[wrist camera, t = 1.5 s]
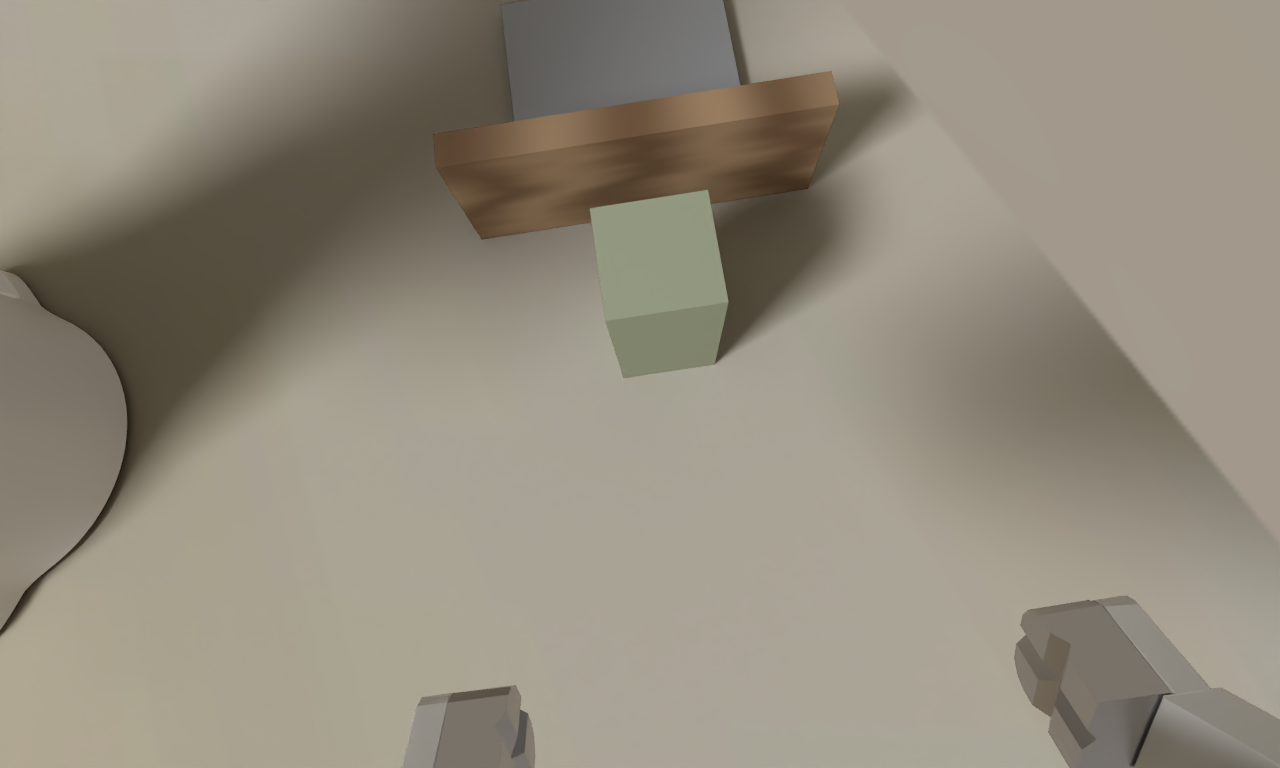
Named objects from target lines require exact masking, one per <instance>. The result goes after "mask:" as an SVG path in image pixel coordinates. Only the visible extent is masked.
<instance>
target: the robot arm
mask: <svg viewBox="0 0 1280 768" xmlns="http://www.w3.org/2000/svg"><path fill="white" fill-rule="evenodd" d="M126 437H127V411H126V402H125V396H124V392H123V388H122V385H121V382H120V379H119V377H118V374H117V372H116V370H115V368H114V366H113V364H112V362H111V360H110V359H109V357H108V356H107V354H106V353H105V352H104V350H103V349H102V348H101V347H100V345H99V344H98V343H97V342H96V341H95V340H94V339H93V338H92V337H90V336H89V335H88V334H87V333H86V332H84V331H83V330H81V329H80V328H78V327H77V326H75V325H73V324H72V323H70V322H68V321H66V320H64V319H62V318H60V317H58V316H56V315H54V314H52V313H50V312H48V311H47V310H46V309H44V308H43V307H42V306H41V305H40V304H39V302H38V301H37V299H36V298H35V296H34V295H33V293H32V292H31V290H30V289H29V288H28V286H27V285H26V284H25V283H24V282H23V281H22V280H21V279H20V278H19V277H18V276H16V275H15V274H12V273H9V272H5V271H2V270H0V630H1V628H2V627H3V625H4V624H5V622H6V621H7V619H8V618H9V616H10V615H11V613H12V611H13V610H14V608H15V607H16V605H17V603H18V602H19V600H20V598H21V597H22V595H23V593H24V592H25V590H26V589H27V588H28V587H29V586H30V585H31V584H32V583H33V582H34V581H35V580H36V579H37V578H39V577H40V576H41V575H42V574H43V573H45V572H46V571H47V570H48V569H49V568H51V567H52V566H53V565H54V564H56V563H57V562H58V561H59V560H60V559H62V558H63V557H64V556H65V555H66V554H67V553H68V552H69V551H70V550H71V549H72V548H73V547H74V546H75V545H76V544H77V543H78V542H79V541H80V539H81V538H82V537H83V536H84V535H85V534H86V532H87V531H88V530H89V528H90V527H91V526H92V524H93V523H94V522H95V520H96V519H97V517H98V516H99V514H100V512H101V511H102V509H103V507H104V506H105V504H106V502H107V500H108V498H109V496H110V494H111V492H112V490H113V487H114V485H115V482H116V480H117V477H118V474H119V471H120V468H121V464H122V460H123V456H124V451H125V445H126ZM1020 626H1021V627H1022V629H1023V630H1024V632H1025V634H1026V635H1025V636H1024V637H1023V638H1022V639H1021V640H1020V641H1019V642H1018V643H1017V644H1016V649H1015V656H1014V659H1015V665H1016V670H1017V675H1018V677H1019V680H1020V682H1021V685H1022V687H1023V690H1024V691H1025V693H1026V695H1027V697H1028V698H1029V700H1030V702H1031V704H1032V705H1033V706H1035V707H1036V708H1038V709H1039V710H1041V711H1042V712H1044V713H1045V714H1047V715H1048V716H1050V723H1049V731H1048V733H1049V734H1050V736H1051V738H1052V739H1053V741H1054V743H1055V744H1056V746H1057V748H1058V749H1059V751H1060V753H1061V754H1062V756H1063V758H1064V759H1065V761H1066V763H1067V764H1068V766H1069V768H1280V720H1279V719H1278V718H1276V717H1274V716H1272V715H1270V714H1269V713H1267V712H1265V711H1263V710H1261V709H1260V708H1258V707H1256V706H1254V705H1252V704H1250V703H1249V702H1247V701H1245V700H1243V699H1241V698H1240V697H1238V696H1236V695H1234V694H1232V693H1230V692H1229V691H1227V690H1225V689H1223V688H1212V689H1211V688H1210V687H1209V686H1208V684H1207V683H1206V682H1205V681H1204V680H1203V679H1202V677H1201V676H1200V675H1199V674H1198V673H1197V672H1196V670H1195V669H1194V668H1193V667H1192V666H1191V665H1190V663H1189V662H1188V661H1187V660H1186V659H1185V658H1184V657H1183V655H1182V654H1181V653H1180V652H1179V651H1178V650H1177V648H1176V647H1175V646H1174V645H1173V644H1172V643H1171V641H1170V640H1169V639H1168V638H1167V637H1166V636H1165V634H1164V633H1163V632H1162V631H1161V630H1160V629H1159V627H1158V626H1157V625H1156V624H1155V623H1154V622H1153V620H1152V619H1151V618H1150V617H1149V616H1148V615H1147V613H1146V612H1145V611H1144V610H1143V609H1142V608H1141V606H1140V605H1139V604H1138V603H1137V602H1136V601H1135V600H1133V599H1132V598H1130V597H1128V596H1117V597H1111V598H1105V599H1099V600H1093V601H1090V600H1086V601H1080V602H1073V603H1067V604H1061V605H1055V606H1049V607H1043V608H1036V609H1030V610H1027V611H1026V612H1025V613H1024V614H1023V616H1022V620H1021V624H1020ZM520 706H521V696H520V693H519V691H518V689H517V687H516V685H513V686H505V687H497V688H489V689H482V690H474V691H466V692H458V693H449V694H442V695H435V696H428V697H422V698H421V700H420V702H419V703H418V705H417V707H416V709H415V713H414V717H413V721H412V725H411V729H410V733H409V737H408V741H407V746H406V750H405V754H404V758H403V762H402V766H401V768H534V766H535V744H534V733H533V728H532V723H531V721H530V718H529V715H528V714H527V713H526V712H524V711H522V710H520Z"/></svg>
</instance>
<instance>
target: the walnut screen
mask: <svg viewBox="0 0 1280 768" xmlns="http://www.w3.org/2000/svg"><path fill="white" fill-rule="evenodd" d="M838 107H839V101H838V96H837V92H836V88H835V84H834V80H833V75H832V71H829V72H823V73H816V74H810V75H804V76H797V77H791V78H785V79H779V80H772V81H766V82H760V83H753V84H747V85H741V86H734V87H728V88H722V89H715V90H709V91H703V92H697V93H690V94H684V95H678V96H671V97H665V98H659V99H652V100H646V101H640V102H633V103H627V104H621V105H615V106H608V107H602V108H596V109H589V110H583V111H577V112H570V113H564V114H558V115H551V116H545V117H539V118H533V119H526V120H520V121H514V122H507V123H501V124H495V125H488V126H482V127H476V128H469V129H463V130H457V131H450V132H444V133H438V134H433V137H434V148H435V160H436V168H437V170H438V172H439V173H440V175H441V176H442V178H443V179H444V181H445V183H446V184H447V186H448V187H449V189H450V190H451V192H452V193H453V195H454V197H455V198H456V200H457V201H458V203H459V204H460V206H461V208H462V209H463V211H464V212H465V214H466V215H467V217H468V218H469V220H470V222H471V223H472V225H473V226H474V228H475V229H476V231H477V233H478V234H479V236H480V237H481V239H487V238H493V237H500V236H506V235H512V234H519V233H525V232H532V231H538V230H544V229H551V228H557V227H564V226H570V225H576V224H583V223H589V222H591V214H590V208H595V207H602V206H608V205H614V204H621V203H627V202H633V201H640V200H646V199H653V198H659V197H665V196H672V195H678V194H685V193H691V192H697V191H704V190H708V193H709V198H710V204H711V203H718V202H724V201H730V200H737V199H743V198H750V197H756V196H762V195H769V194H775V193H782V192H788V191H795V190H801V189H807V188H808V186H809V184H810V181H811V178H812V176H813V173H814V170H815V168H816V165H817V162H818V160H819V157H820V154H821V152H822V149H823V146H824V144H825V141H826V138H827V136H828V133H829V131H830V128H831V125H832V123H833V120H834V117H835V115H836V112H837V109H838Z"/></svg>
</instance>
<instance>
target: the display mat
mask: <svg viewBox="0 0 1280 768" xmlns="http://www.w3.org/2000/svg"><path fill="white" fill-rule="evenodd" d="M501 12H502V21H503V29H504V38H505V46H506V55H507V64H508V72H509V81H510V90H511V98H512V107H513V116H514V121H520V120H526V119H533V118H539V117H545V116H551V115H558V114H564V113H570V112H577V111H583V110H589V109H596V108H602V107H608V106H615V105H621V104H627V103H633V102H640V101H646V100H652V99H659V98H665V97H671V96H678V95H684V94H690V93H697V92H703V91H709V90H715V89H722V88H728V87H734V86H740V81H739V76H738V71H737V66H736V61H735V56H734V52H733V47H732V42H731V37H730V32H729V27H728V22H727V17H726V12H725V7H724V2H723V0H525V1H519V2H513V3H507V4H501Z"/></svg>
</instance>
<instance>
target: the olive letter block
mask: <svg viewBox="0 0 1280 768" xmlns="http://www.w3.org/2000/svg"><path fill="white" fill-rule="evenodd" d="M590 214H591V222H592V229H593V236H594V243H595V250H596V257H597V265H598V272H599V279H600V286H601V293H602V300H603V308H604V315H605V321H606V325H607V328H608V331H609V334H610V337H611V340H612V343H613V347H614V350H615V353H616V356H617V359H618V362H619V365H620V369H621V372H622V375H623V378H628V377H635V376H642V375H648V374H655V373H661V372H668V371H674V370H681V369H688V368H694V367H701V366H707V365H714V364H715V361H716V356H717V352H718V347H719V343H720V338H721V334H722V329H723V325H724V320H725V316H726V312H727V307H728V303H729V301H728V296H727V291H726V285H725V280H724V274H723V269H722V263H721V258H720V252H719V247H718V242H717V236H716V231H715V225H714V220H713V214H712V209H711V204H710V198H709V193H708V190H704V191H697V192H691V193H685V194H678V195H672V196H665V197H659V198H653V199H646V200H640V201H633V202H627V203H621V204H614V205H608V206H602V207H595V208H590Z"/></svg>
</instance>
